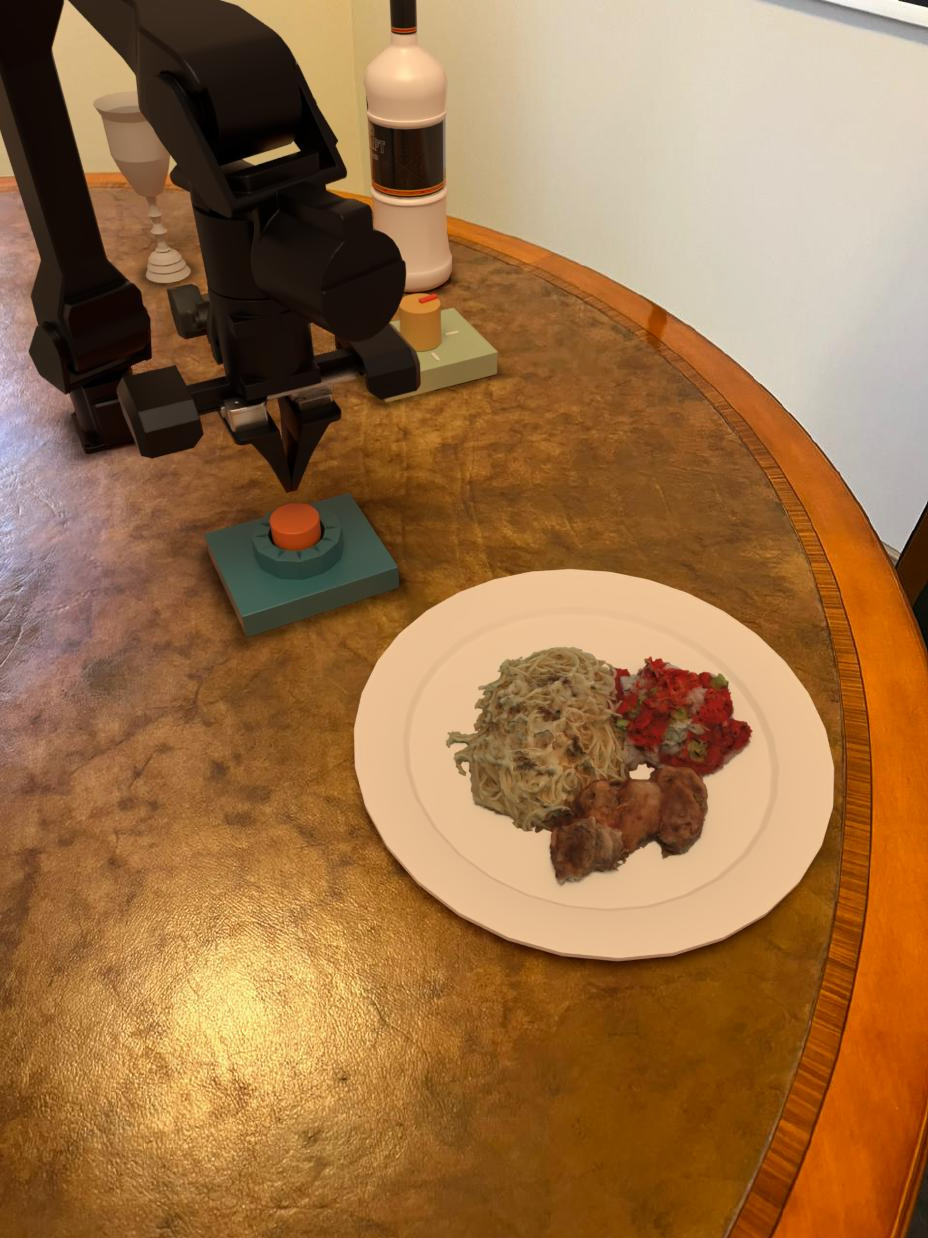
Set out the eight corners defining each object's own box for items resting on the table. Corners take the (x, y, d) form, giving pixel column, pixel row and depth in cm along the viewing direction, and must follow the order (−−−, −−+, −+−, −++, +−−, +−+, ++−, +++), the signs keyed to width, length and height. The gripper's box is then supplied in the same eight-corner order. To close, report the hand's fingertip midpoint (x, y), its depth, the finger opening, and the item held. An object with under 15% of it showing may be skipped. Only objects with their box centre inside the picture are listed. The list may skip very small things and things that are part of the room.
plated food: (260, 746, 60) (252, 713, 58) (561, 534, 75) (565, 501, 73) (629, 1098, 45) (638, 1074, 43) (912, 747, 60) (931, 714, 58)
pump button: (266, 528, 70) (263, 510, 69) (311, 515, 71) (309, 497, 70) (281, 557, 68) (278, 539, 66) (328, 543, 69) (326, 525, 68)
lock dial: (415, 355, 90) (414, 314, 87) (392, 338, 92) (390, 297, 89) (449, 343, 91) (448, 302, 88) (425, 327, 94) (425, 286, 91)
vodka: (435, 301, 103) (429, -23, 81) (358, 287, 105) (334, -32, 84) (463, 266, 109) (465, -44, 88) (391, 253, 111) (375, -51, 90)
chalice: (124, 281, 106) (79, 108, 93) (155, 256, 110) (115, 88, 97) (182, 290, 104) (144, 115, 91) (210, 264, 109) (178, 95, 96)
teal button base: (209, 555, 73) (199, 515, 70) (351, 513, 77) (347, 473, 74) (246, 638, 67) (237, 598, 64) (399, 588, 71) (397, 548, 68)
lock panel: (347, 354, 95) (345, 330, 93) (453, 329, 99) (453, 305, 97) (385, 403, 88) (384, 378, 87) (497, 374, 92) (498, 349, 90)
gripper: (353, 201, 63) (368, 401, 74) (70, 253, 57) (132, 461, 68) (421, 268, 56) (426, 477, 67) (106, 335, 50) (169, 552, 61)
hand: (289, 488), depth 66 cm, fingers closed
